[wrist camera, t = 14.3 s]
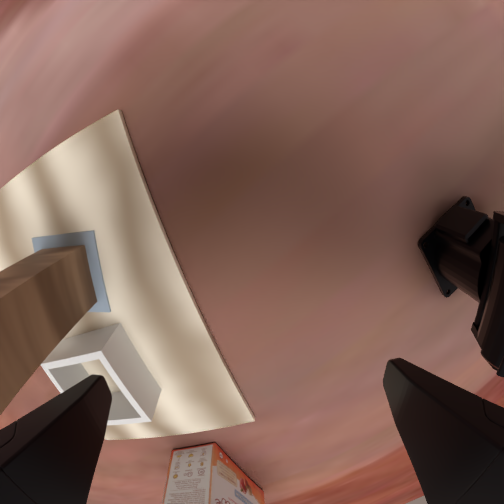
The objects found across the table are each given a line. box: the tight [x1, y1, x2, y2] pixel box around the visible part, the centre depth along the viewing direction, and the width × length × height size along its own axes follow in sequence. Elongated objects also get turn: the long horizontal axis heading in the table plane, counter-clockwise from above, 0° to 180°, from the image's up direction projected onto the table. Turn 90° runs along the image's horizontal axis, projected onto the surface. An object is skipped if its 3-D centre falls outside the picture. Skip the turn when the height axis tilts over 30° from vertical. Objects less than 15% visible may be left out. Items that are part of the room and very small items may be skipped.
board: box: [0, 110, 255, 440], centre depth 21 cm, size 18×28×1 cm, turn 19°
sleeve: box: [41, 323, 162, 425], centre depth 21 cm, size 7×7×4 cm
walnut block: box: [0, 245, 97, 415], centre depth 14 cm, size 4×4×13 cm
